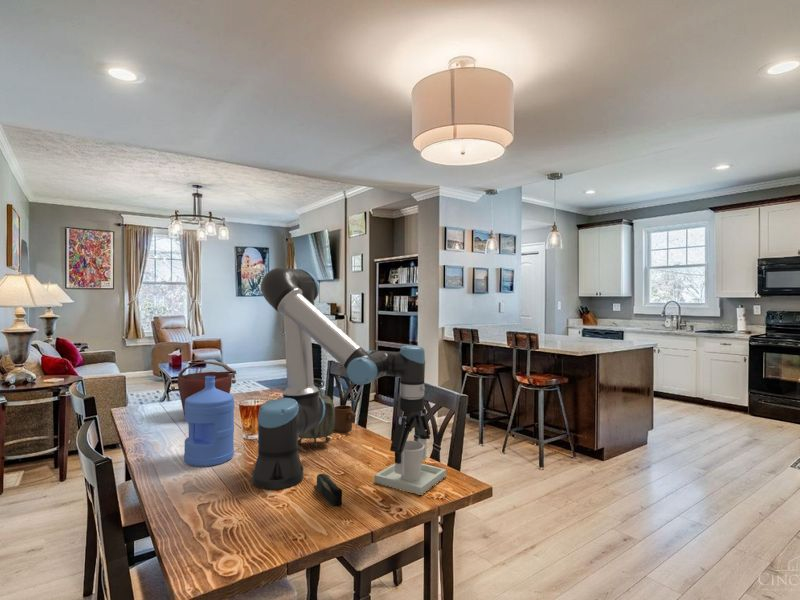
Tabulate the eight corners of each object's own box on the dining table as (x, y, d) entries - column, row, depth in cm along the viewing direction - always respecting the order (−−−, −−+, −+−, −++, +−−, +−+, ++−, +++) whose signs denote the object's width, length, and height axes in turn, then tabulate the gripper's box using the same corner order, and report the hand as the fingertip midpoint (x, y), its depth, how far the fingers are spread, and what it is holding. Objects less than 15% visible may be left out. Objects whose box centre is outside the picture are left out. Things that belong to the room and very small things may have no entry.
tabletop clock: (331, 439, 174) (332, 375, 174) (335, 447, 165) (336, 379, 165) (293, 443, 170) (294, 377, 169) (295, 451, 161) (296, 381, 161)
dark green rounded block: (344, 488, 120) (321, 468, 132) (334, 491, 118) (312, 470, 131) (343, 507, 120) (321, 485, 133) (333, 509, 118) (311, 487, 131)
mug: (361, 432, 183) (362, 409, 183) (346, 436, 178) (346, 412, 178) (345, 426, 192) (345, 404, 192) (330, 429, 188) (330, 406, 187)
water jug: (216, 447, 164) (217, 371, 163) (243, 457, 154) (244, 376, 154) (174, 460, 151) (175, 377, 150) (200, 471, 142) (201, 382, 141)
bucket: (243, 412, 212) (244, 359, 211) (214, 426, 190) (214, 367, 190) (198, 409, 217) (198, 357, 217) (164, 421, 196) (165, 364, 196)
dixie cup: (422, 471, 141) (423, 440, 141) (425, 483, 133) (425, 450, 133) (396, 471, 141) (396, 440, 141) (397, 483, 133) (397, 450, 132)
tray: (421, 496, 126) (421, 487, 126) (374, 483, 135) (374, 475, 135) (446, 477, 140) (446, 469, 140) (402, 466, 148) (402, 458, 148)
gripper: (401, 406, 124) (400, 483, 125) (441, 391, 145) (440, 456, 146) (378, 403, 128) (377, 477, 129) (421, 388, 149) (420, 451, 150)
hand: (411, 466), depth 137 cm, fingers open, 13 cm apart
